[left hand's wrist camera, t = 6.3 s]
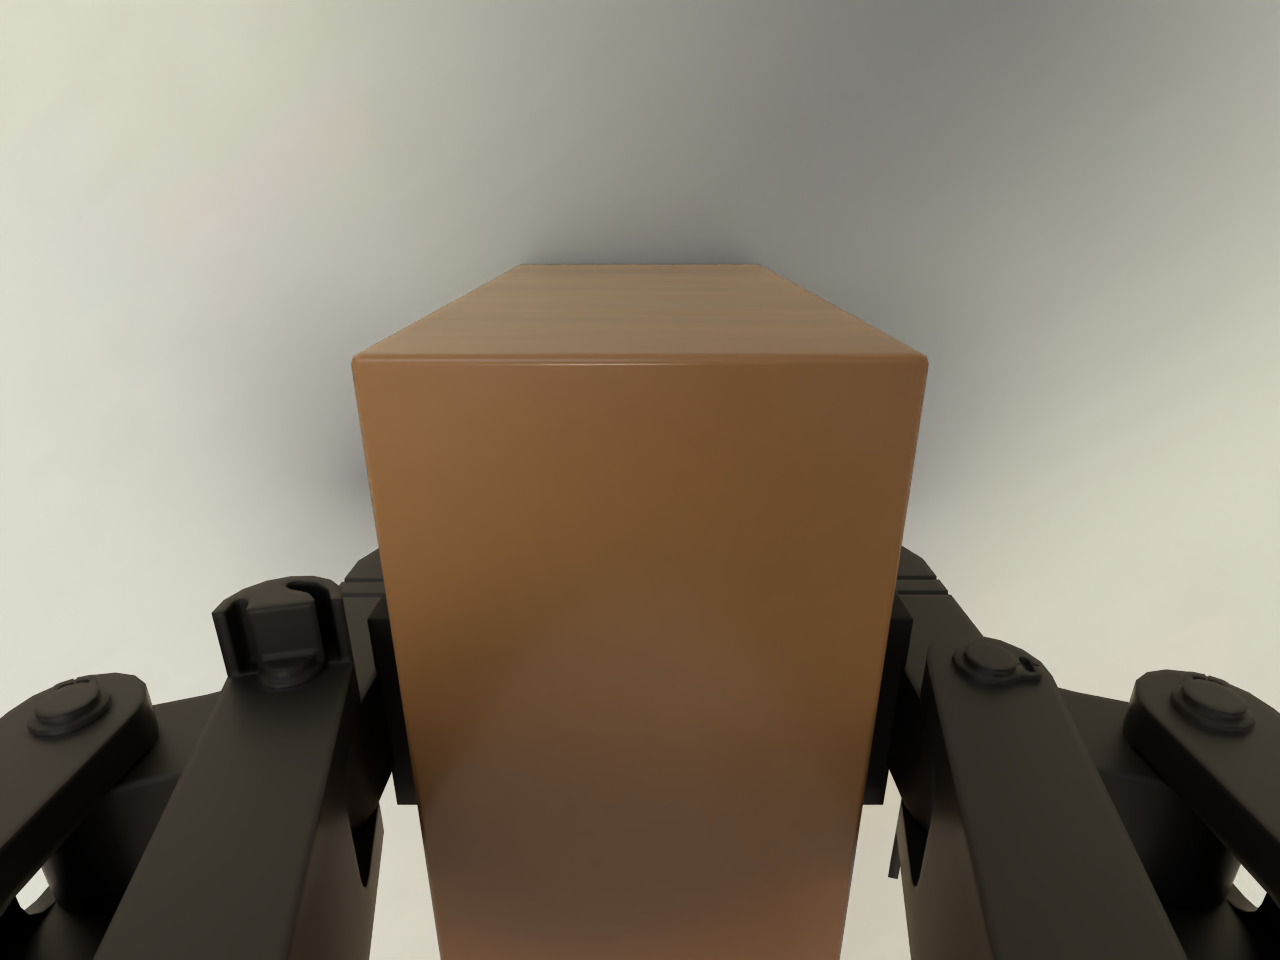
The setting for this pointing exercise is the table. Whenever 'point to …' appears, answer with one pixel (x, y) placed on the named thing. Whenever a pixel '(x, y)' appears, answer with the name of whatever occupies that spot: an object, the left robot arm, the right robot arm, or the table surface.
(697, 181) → the table surface
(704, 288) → the bar
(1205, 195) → the table surface
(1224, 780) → the left robot arm
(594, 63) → the table surface
